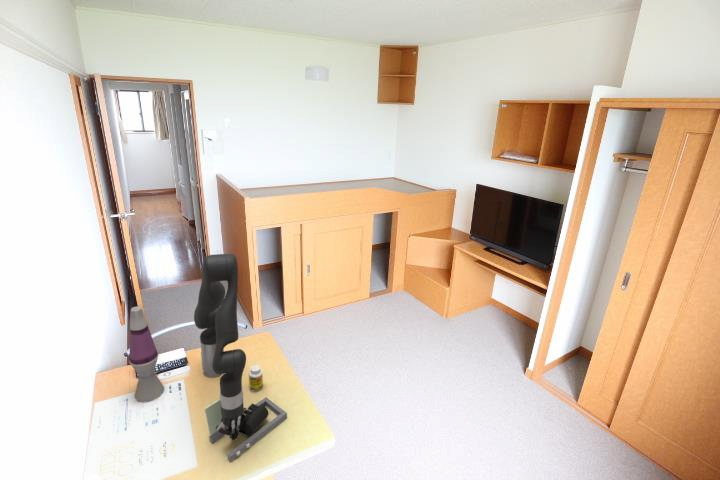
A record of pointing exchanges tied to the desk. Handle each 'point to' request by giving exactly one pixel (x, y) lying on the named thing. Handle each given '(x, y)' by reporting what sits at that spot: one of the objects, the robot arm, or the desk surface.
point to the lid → (213, 417)
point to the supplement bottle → (255, 378)
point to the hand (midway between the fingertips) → (234, 438)
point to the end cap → (254, 419)
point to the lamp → (143, 357)
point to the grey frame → (259, 434)
